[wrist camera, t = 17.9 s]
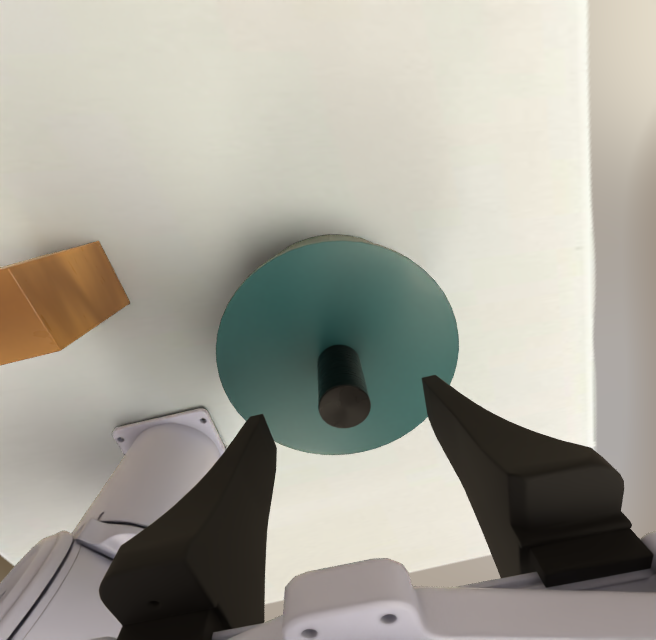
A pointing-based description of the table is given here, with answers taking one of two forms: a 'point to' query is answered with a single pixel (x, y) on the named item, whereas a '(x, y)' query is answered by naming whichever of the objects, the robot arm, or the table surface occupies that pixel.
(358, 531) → the table surface
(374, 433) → the pot lid
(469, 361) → the table surface
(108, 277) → the maple block
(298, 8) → the table surface
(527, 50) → the table surface
